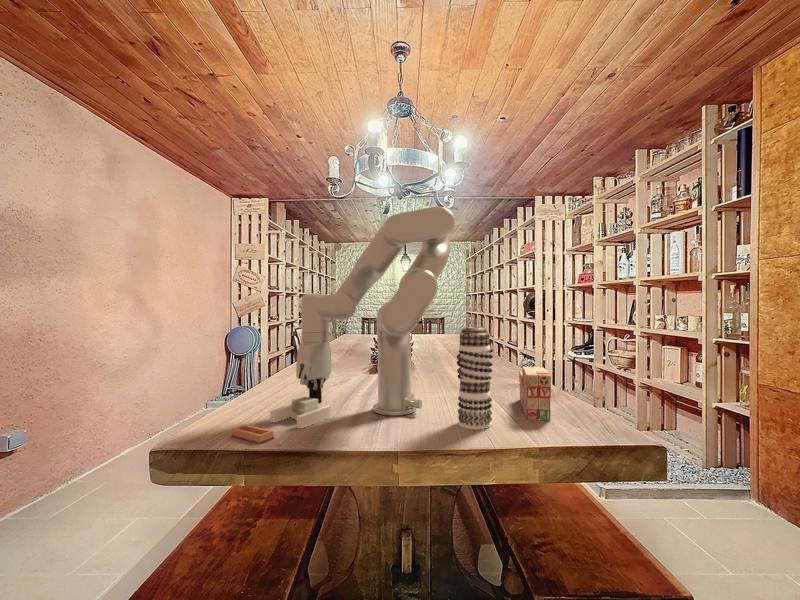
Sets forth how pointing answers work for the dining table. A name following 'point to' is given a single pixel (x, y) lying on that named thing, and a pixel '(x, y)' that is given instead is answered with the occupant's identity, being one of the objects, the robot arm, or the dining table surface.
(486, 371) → the decorative candle
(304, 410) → the sage block
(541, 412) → the stack of blocks
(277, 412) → the walled channel
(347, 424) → the dining table surface
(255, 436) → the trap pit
